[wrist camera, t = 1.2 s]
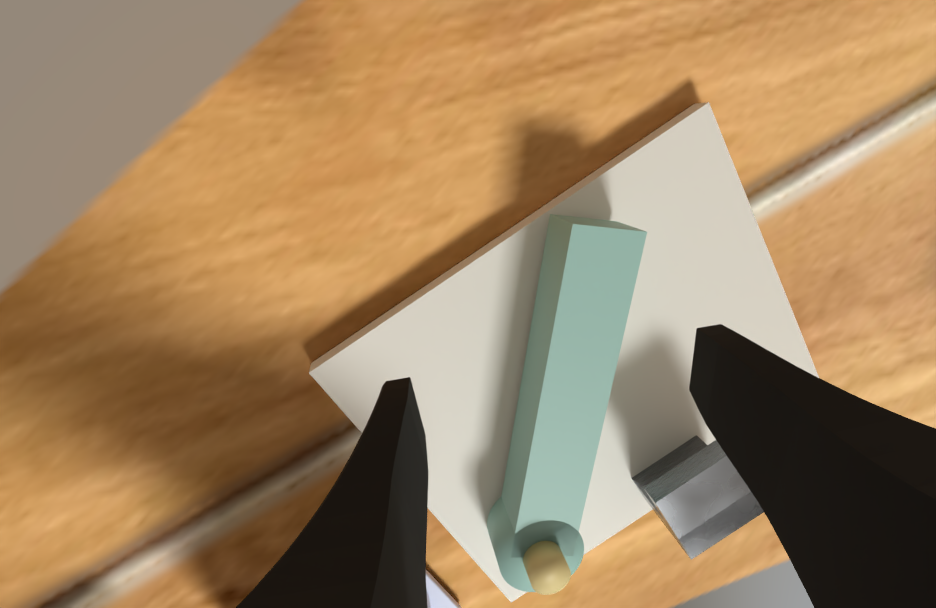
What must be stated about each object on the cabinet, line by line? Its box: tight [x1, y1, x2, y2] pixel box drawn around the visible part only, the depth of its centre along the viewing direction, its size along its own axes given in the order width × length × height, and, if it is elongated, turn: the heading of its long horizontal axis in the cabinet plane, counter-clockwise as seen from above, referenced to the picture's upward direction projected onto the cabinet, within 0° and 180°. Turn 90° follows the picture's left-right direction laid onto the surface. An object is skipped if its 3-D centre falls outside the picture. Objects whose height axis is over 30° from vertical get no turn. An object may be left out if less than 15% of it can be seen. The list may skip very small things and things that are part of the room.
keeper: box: [632, 435, 764, 559], centre depth 25 cm, size 4×4×5 cm
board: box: [309, 102, 819, 602], centre depth 25 cm, size 20×17×1 cm
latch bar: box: [487, 214, 647, 595], centre depth 22 cm, size 17×4×4 cm, turn 173°
